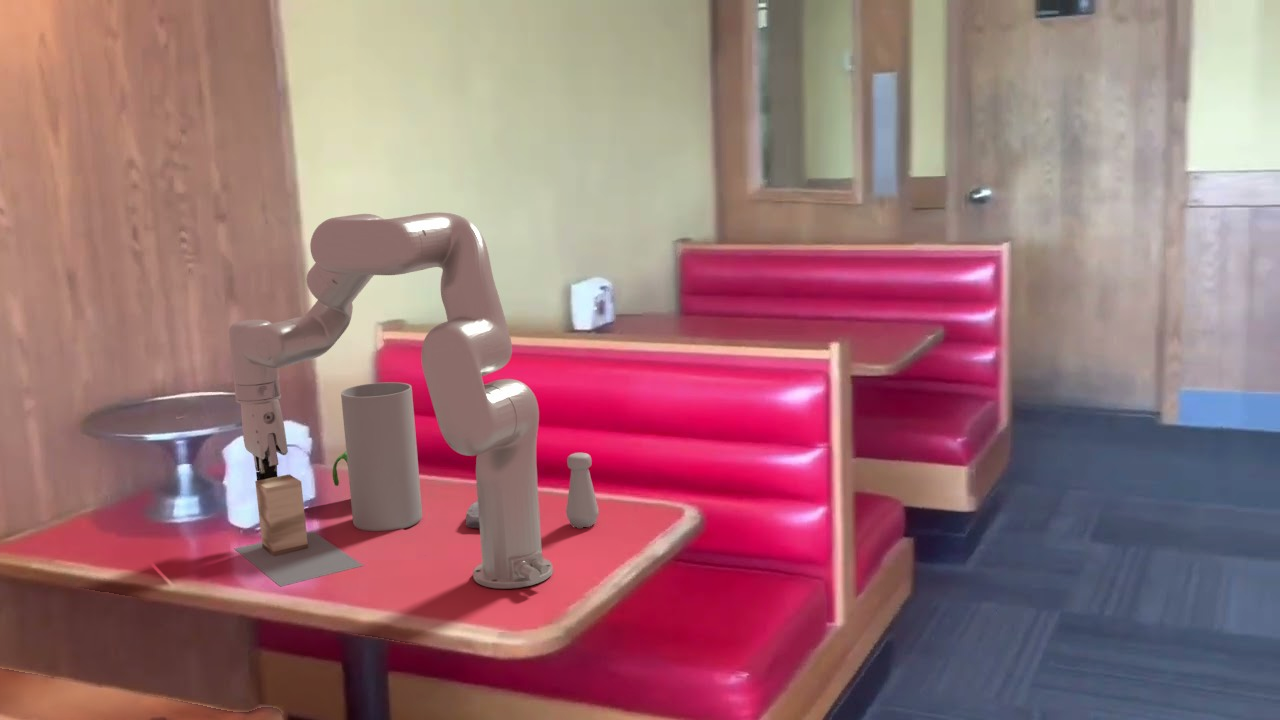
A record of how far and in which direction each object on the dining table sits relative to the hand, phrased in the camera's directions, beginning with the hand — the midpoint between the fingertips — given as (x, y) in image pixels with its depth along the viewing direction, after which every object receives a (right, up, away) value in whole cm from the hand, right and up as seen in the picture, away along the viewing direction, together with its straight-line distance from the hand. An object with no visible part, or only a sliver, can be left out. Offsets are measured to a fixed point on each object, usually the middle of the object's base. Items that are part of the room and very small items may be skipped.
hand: (268, 492), depth 217 cm
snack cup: (+14, -4, +24) cm, 28 cm away
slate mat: (+7, -10, -8) cm, 15 cm away
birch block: (+4, -9, -3) cm, 10 cm away
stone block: (+40, -7, +6) cm, 41 cm away
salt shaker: (+55, -6, +3) cm, 56 cm away
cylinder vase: (+19, -7, +10) cm, 22 cm away
